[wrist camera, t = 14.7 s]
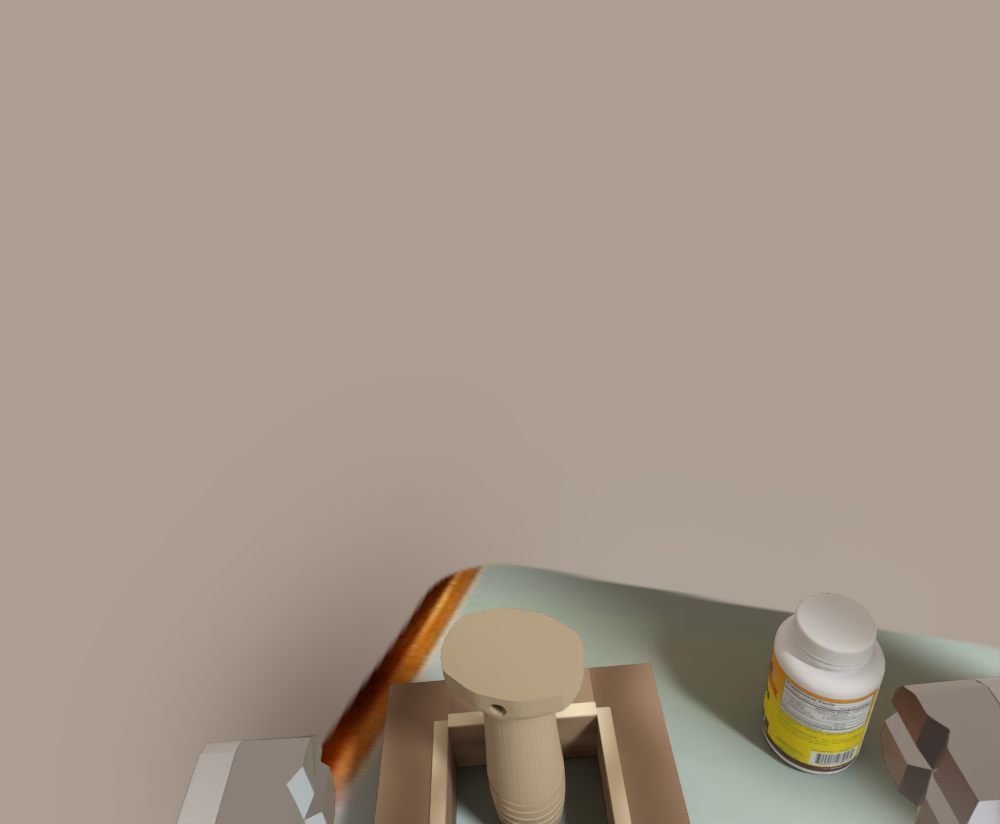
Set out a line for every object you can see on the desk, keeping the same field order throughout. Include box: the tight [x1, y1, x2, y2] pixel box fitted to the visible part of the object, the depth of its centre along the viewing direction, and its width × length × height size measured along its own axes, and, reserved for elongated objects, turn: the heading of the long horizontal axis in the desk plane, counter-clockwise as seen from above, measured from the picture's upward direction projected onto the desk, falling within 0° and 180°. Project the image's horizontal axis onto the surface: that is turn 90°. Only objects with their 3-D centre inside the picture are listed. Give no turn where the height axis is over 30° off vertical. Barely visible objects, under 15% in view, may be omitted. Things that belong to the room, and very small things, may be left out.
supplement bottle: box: [762, 593, 885, 775], centre depth 41 cm, size 6×6×10 cm
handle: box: [440, 608, 584, 824], centre depth 36 cm, size 5×6×15 cm
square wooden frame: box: [374, 663, 690, 824], centre depth 39 cm, size 16×14×4 cm
